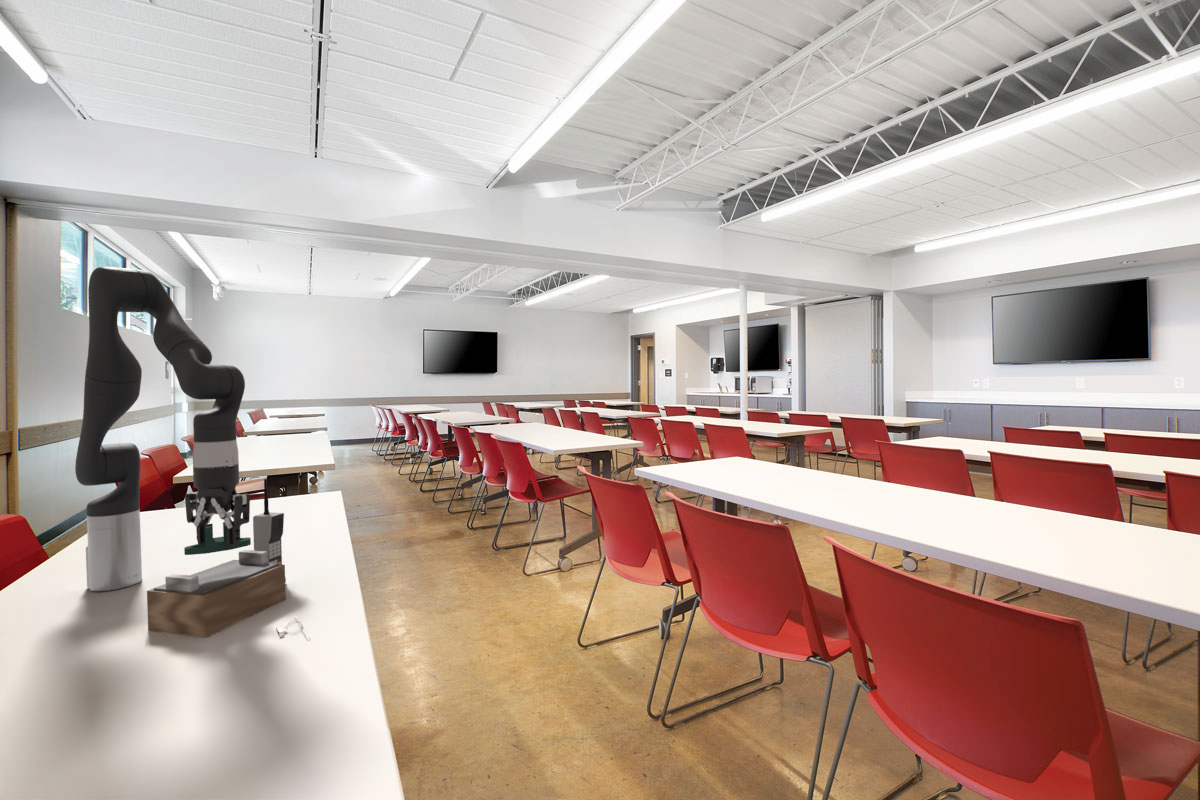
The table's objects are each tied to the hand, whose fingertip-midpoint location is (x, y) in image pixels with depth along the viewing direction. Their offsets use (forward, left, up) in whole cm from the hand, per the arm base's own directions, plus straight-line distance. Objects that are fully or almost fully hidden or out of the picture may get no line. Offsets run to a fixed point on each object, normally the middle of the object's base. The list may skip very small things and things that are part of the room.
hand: (218, 544), depth 108 cm
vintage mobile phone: (-3, +15, -14) cm, 21 cm away
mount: (0, 0, -1) cm, 1 cm away
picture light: (+20, -3, -15) cm, 25 cm away
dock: (0, 0, -14) cm, 14 cm away
